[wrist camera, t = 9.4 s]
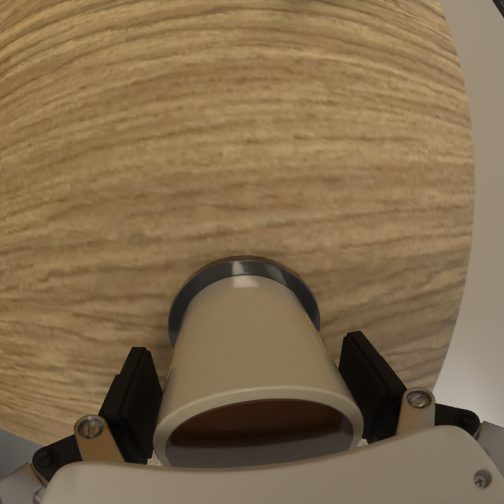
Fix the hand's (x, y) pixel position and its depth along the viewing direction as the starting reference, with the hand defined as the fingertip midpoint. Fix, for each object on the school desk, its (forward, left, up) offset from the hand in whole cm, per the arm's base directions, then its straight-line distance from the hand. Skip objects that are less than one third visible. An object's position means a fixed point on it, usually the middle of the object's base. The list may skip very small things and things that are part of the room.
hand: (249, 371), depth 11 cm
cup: (0, +1, -3) cm, 3 cm away
